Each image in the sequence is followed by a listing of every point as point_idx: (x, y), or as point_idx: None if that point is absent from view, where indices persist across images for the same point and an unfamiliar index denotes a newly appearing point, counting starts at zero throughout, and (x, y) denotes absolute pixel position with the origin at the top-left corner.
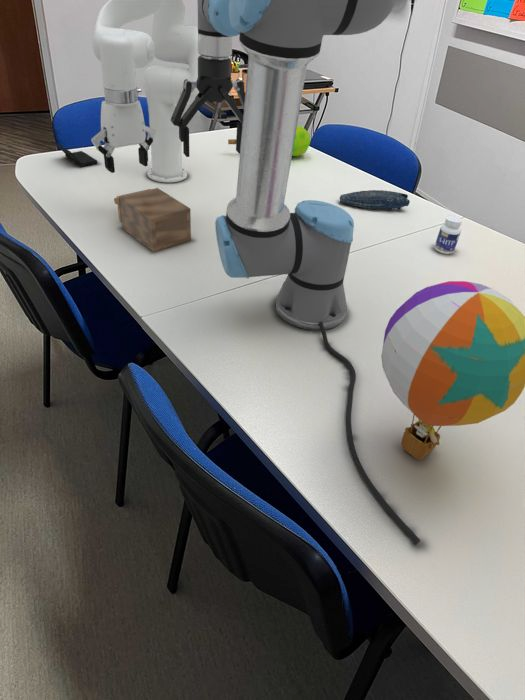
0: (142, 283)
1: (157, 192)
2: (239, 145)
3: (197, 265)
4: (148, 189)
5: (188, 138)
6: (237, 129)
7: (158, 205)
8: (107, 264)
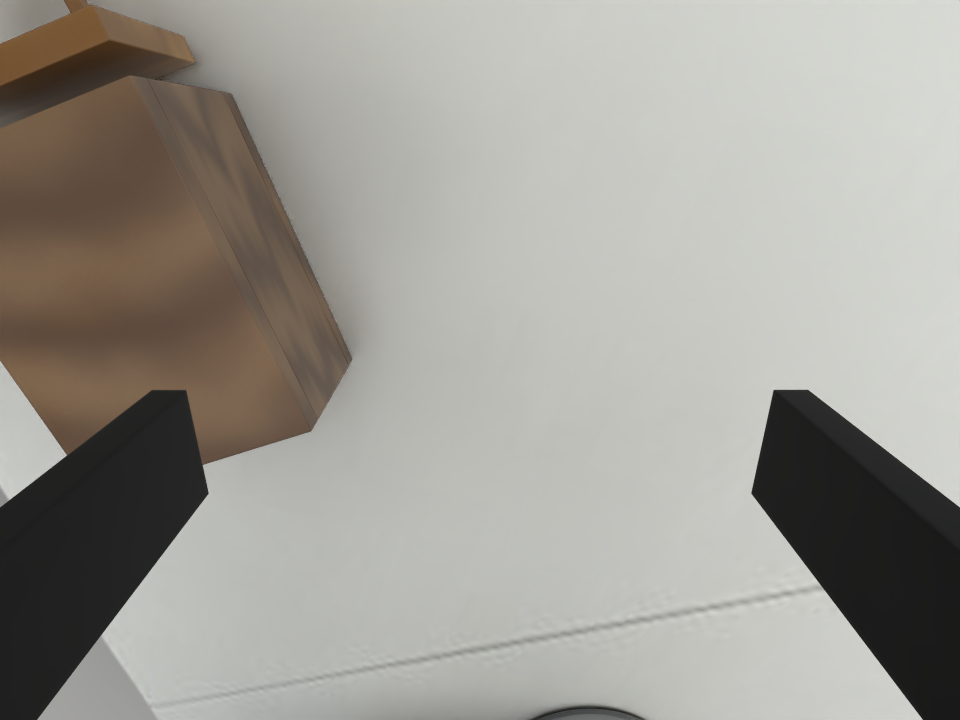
0: (148, 582)
1: (129, 163)
2: (797, 539)
3: (340, 529)
4: (77, 17)
5: (80, 647)
6: (952, 588)
7: (135, 361)
8: (18, 457)
